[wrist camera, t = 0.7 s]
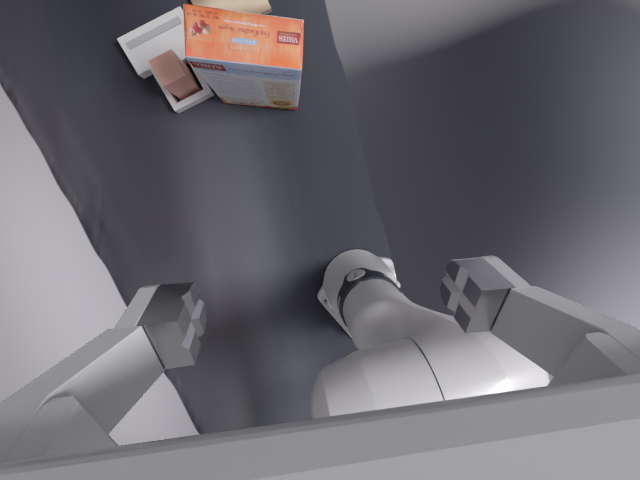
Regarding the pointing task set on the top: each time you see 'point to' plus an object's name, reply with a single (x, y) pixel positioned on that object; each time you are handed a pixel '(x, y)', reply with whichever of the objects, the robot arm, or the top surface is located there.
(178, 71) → the block
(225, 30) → the cracker box
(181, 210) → the top surface
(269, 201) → the top surface
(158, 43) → the dispenser
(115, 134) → the top surface
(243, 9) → the board
